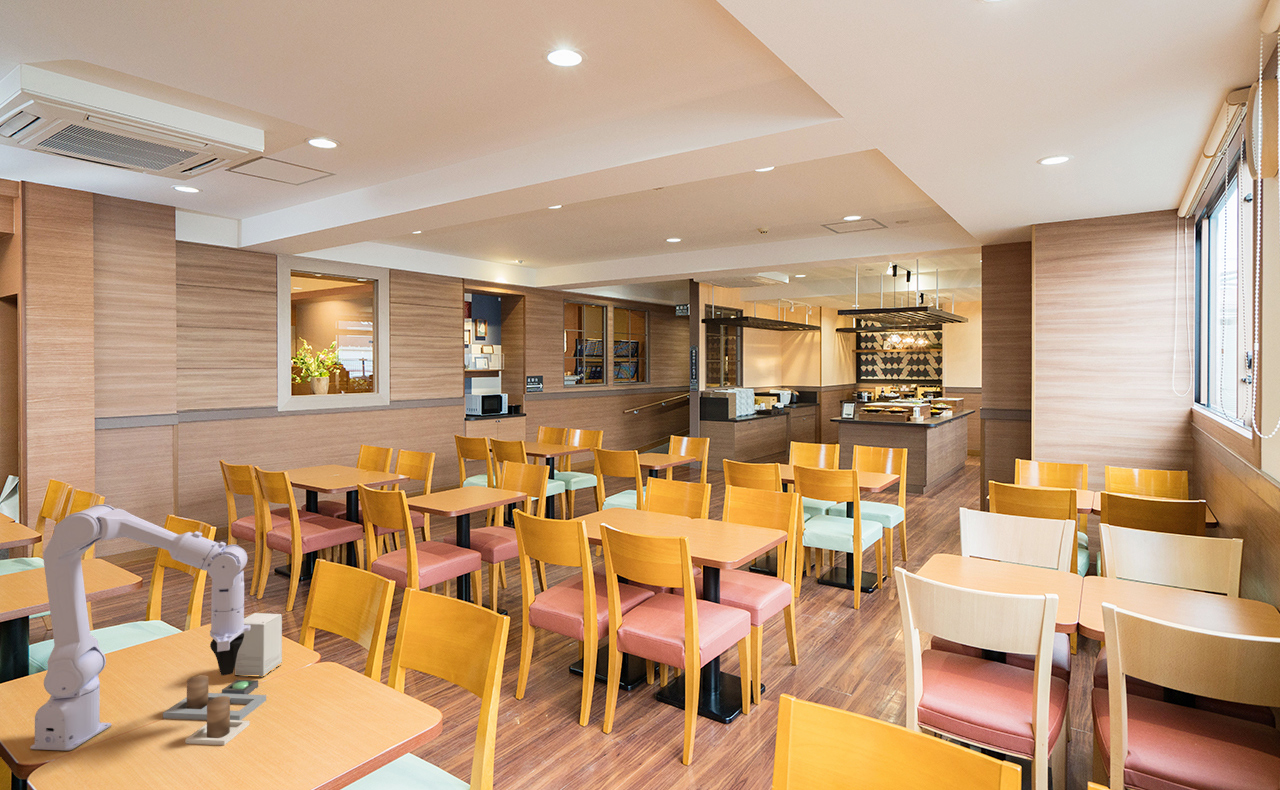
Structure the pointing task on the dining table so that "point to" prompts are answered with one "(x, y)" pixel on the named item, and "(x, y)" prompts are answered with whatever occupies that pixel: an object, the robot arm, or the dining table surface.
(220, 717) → the cylinder
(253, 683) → the switch box
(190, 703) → the cylinder
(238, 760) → the dining table surface
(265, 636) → the supplement box
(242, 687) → the button
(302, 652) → the dining table surface
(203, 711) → the grey frame
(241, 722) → the white square tray
